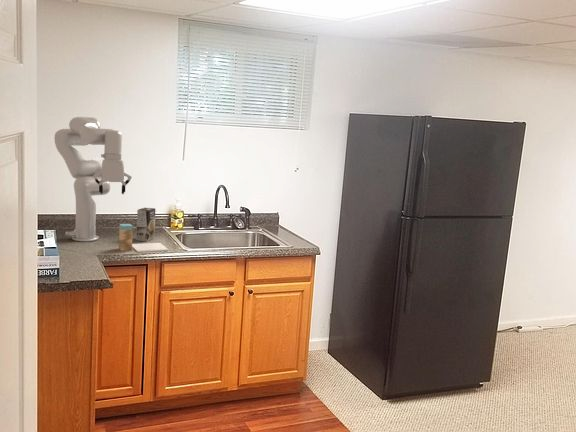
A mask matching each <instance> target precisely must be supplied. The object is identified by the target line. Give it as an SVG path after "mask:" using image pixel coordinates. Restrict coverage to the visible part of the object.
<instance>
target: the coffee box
mask: <svg viewBox="0 0 576 432" xmlns="http://www.w3.org/2000/svg"><path fill="white" fill-rule="evenodd" d="M136 212H137V214H136V215H137V216H136V241H140V242H149V241H152V240H154V239H155V238H156V237H155V233H156V208H153V207H142V208H139V209H137V211H136Z"/></svg>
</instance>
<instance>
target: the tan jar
mask: <svg viewBox="0 0 576 432" xmlns="http://www.w3.org/2000/svg"><path fill="white" fill-rule="evenodd" d="M118 227H119V230H118V231H119V232H118V234H119V235H118V237H119V238H118V239H119V240H118V249H119V250H120V251H122V252H124V251H127V252H128V251H133V248H132V244H133V229H134V227H133V225H132V224H131V223H119V226H118Z"/></svg>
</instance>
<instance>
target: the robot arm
mask: <svg viewBox="0 0 576 432" xmlns="http://www.w3.org/2000/svg"><path fill="white" fill-rule="evenodd" d="M68 125H69V126H68V127H69V128H62V129H59V130H56V132H55V133H54V137H53V138H54V146H55V148H56V149H57V152H58V154H59V155H60V156H61V157H62V159H63V160H64V163H65V165H66V167H67V168H68V171H69V173H70V175H71V176H72V178H73V179H75V180H74V182H73V191H74V196H75V228H74V230H72V231H65V236H68V237H71V239H72V240H73V241H76V242H94V241H98V240H99V235H96V230H97V229H96V225H97V224H96V222H97V219H96V218H97V217H96V216H97V213H96V212H97V204H96V202H95V199H93V197H94V196H105V195H107V194H108V193H110V191H111V183H121V184H122V185H121V195H125V193H126V186H127V185H128V184H129V183H130V181H131V179H132V176H131V175H130V174H128V173H126V172H125V165H124V161H123V160H122V138H123V137H122V136H123V135H122V132H121V131H120V130H114V129H112V128H101V124H100V122H99V120H98V119H97V118H95V117H87V116H85V117H84V116H76V117H73V118H72V119H70V121H69V123H68ZM88 145H93V146H98V145H99V146H104V153H102V154H100V157H101V158H103V159H102V163H100V162H99V161H97V160H93V159H91V160H89V159H88V160H87V159H84V158H83V156H82V154H81V152H80V151H79V150H78V149H77V148H75V147H74V146H76V147H77V146H83V147H84V146H88ZM125 177H126V178H127V179H126V180H125ZM124 180H125V181H124Z"/></svg>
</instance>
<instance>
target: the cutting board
mask: <svg viewBox="0 0 576 432" xmlns="http://www.w3.org/2000/svg"><path fill="white" fill-rule="evenodd" d="M132 250H134V251H136V252H137V253H149V252H169V249H168V248H167V247H166V245H164V244H162V243H161V242H149V243H132Z"/></svg>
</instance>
